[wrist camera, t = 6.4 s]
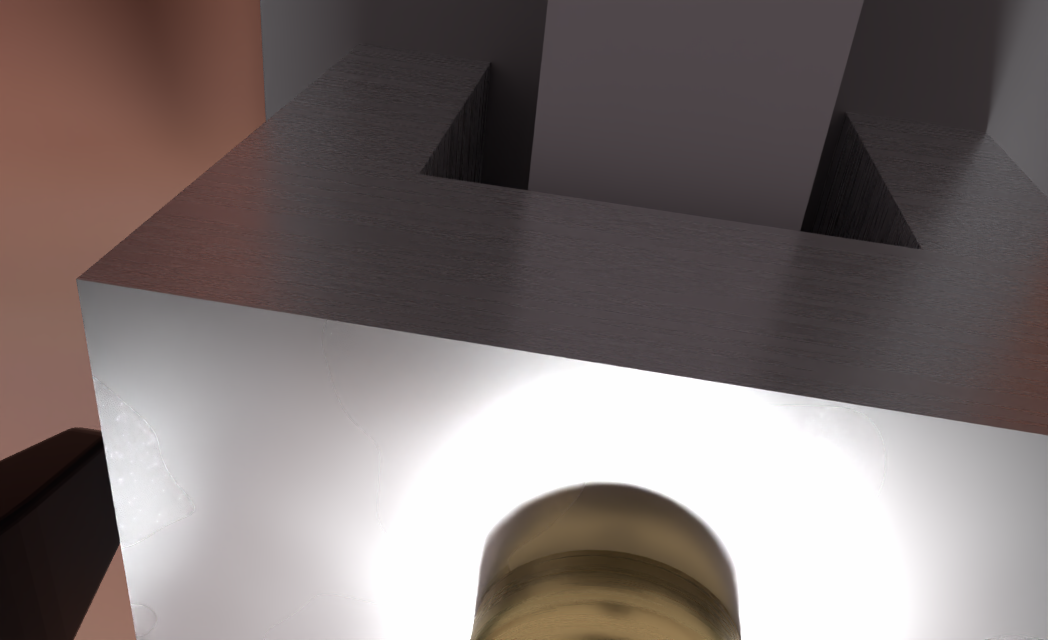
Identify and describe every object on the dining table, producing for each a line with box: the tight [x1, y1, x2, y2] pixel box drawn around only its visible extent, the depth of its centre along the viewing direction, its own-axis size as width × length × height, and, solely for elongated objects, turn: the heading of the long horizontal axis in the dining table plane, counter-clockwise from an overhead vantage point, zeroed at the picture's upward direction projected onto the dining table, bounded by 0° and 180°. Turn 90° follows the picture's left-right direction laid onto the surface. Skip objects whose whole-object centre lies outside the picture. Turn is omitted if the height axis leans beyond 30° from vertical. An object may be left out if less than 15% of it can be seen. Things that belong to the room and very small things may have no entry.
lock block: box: [76, 44, 1048, 640], centre depth 8 cm, size 7×6×6 cm
